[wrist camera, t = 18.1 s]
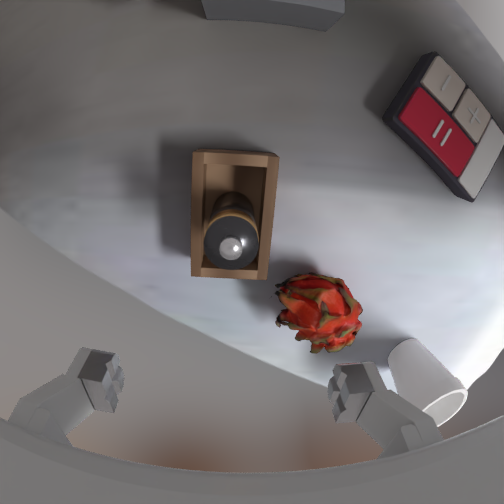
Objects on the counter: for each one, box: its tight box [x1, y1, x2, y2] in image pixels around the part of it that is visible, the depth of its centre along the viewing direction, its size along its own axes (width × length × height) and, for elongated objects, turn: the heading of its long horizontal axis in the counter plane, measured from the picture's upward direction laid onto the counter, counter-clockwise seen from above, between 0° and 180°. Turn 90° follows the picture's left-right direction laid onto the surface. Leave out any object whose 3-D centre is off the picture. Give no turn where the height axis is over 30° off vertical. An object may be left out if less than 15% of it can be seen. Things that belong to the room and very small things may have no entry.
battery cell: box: [203, 191, 259, 270], centre depth 26 cm, size 4×4×10 cm
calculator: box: [383, 52, 504, 202], centre depth 26 cm, size 11×4×15 cm
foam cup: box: [388, 339, 468, 427], centre depth 35 cm, size 10×9×13 cm
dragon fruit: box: [271, 273, 363, 353], centre depth 32 cm, size 8×8×12 cm
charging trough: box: [191, 149, 279, 280], centre depth 29 cm, size 8×12×4 cm, turn 176°
